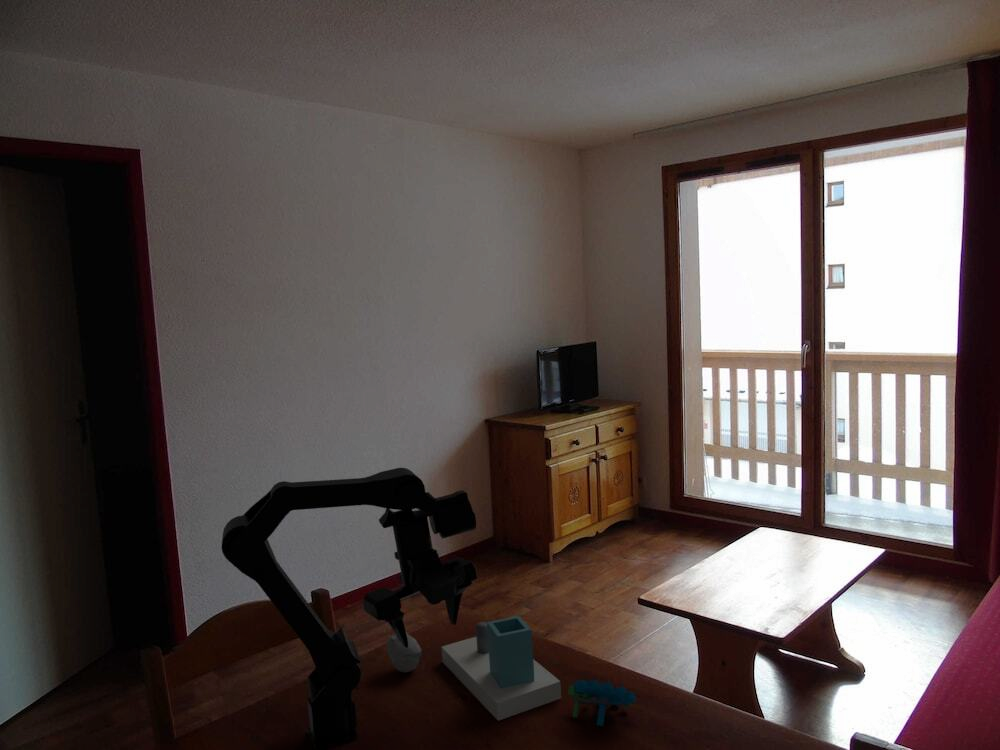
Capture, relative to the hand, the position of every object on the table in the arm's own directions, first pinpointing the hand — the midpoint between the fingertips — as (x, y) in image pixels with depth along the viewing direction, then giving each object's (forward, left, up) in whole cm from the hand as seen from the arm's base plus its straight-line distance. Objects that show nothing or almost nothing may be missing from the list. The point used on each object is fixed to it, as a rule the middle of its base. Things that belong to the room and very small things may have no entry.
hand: (430, 635), depth 118 cm
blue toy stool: (+22, -16, -13) cm, 31 cm away
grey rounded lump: (0, +15, -13) cm, 20 cm away
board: (+13, +3, -13) cm, 19 cm away
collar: (+13, -3, -10) cm, 17 cm away
